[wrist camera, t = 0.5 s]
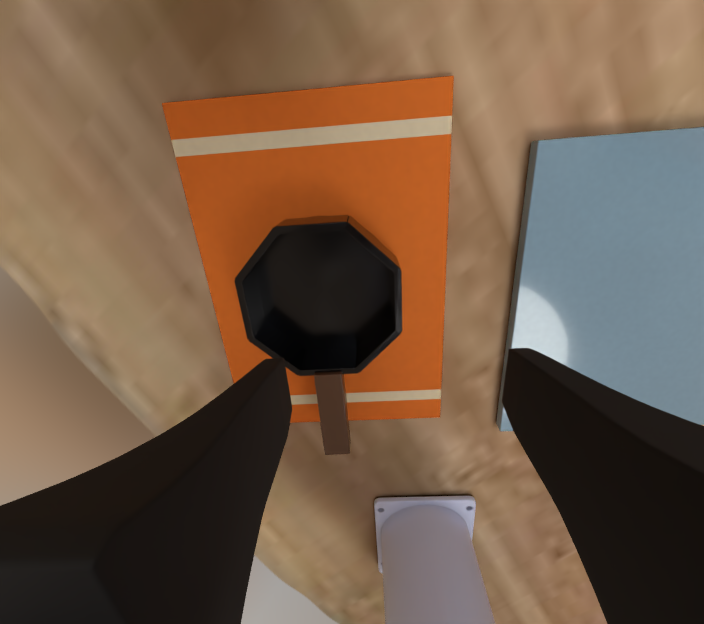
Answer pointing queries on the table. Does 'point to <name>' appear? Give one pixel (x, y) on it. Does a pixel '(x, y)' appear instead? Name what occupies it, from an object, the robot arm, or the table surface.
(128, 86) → the table surface
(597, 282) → the trivet
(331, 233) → the skillet
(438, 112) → the tea towel
